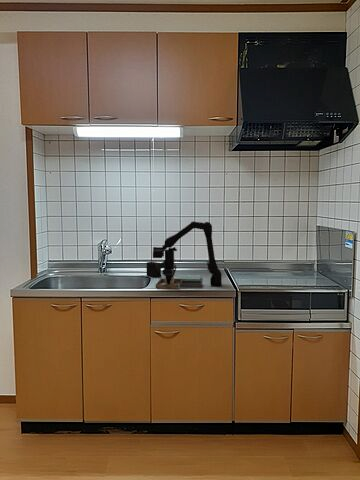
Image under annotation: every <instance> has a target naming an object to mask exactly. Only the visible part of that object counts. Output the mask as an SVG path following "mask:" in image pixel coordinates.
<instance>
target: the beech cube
mask: <svg viewBox="0 0 360 480" xmlns="http://www.w3.org/2000/svg"><path fill="white" fill-rule="evenodd" d="M164 278H165V283H164V284H167V280H166V277H164ZM174 279H175V277H174V276H173V277H172V279H171V282H170V284H167V285H175V283H174Z"/></svg>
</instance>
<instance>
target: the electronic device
mask: <svg viewBox="0 0 360 480" xmlns="http://www.w3.org/2000/svg"><path fill="white" fill-rule="evenodd" d="M157 263H159V262H157V261H147V262H146V263H145V264H146V277H148V278H154V279H158V278H161V277H162V268H161V269H159V270H157V268H156V264H157Z"/></svg>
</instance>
